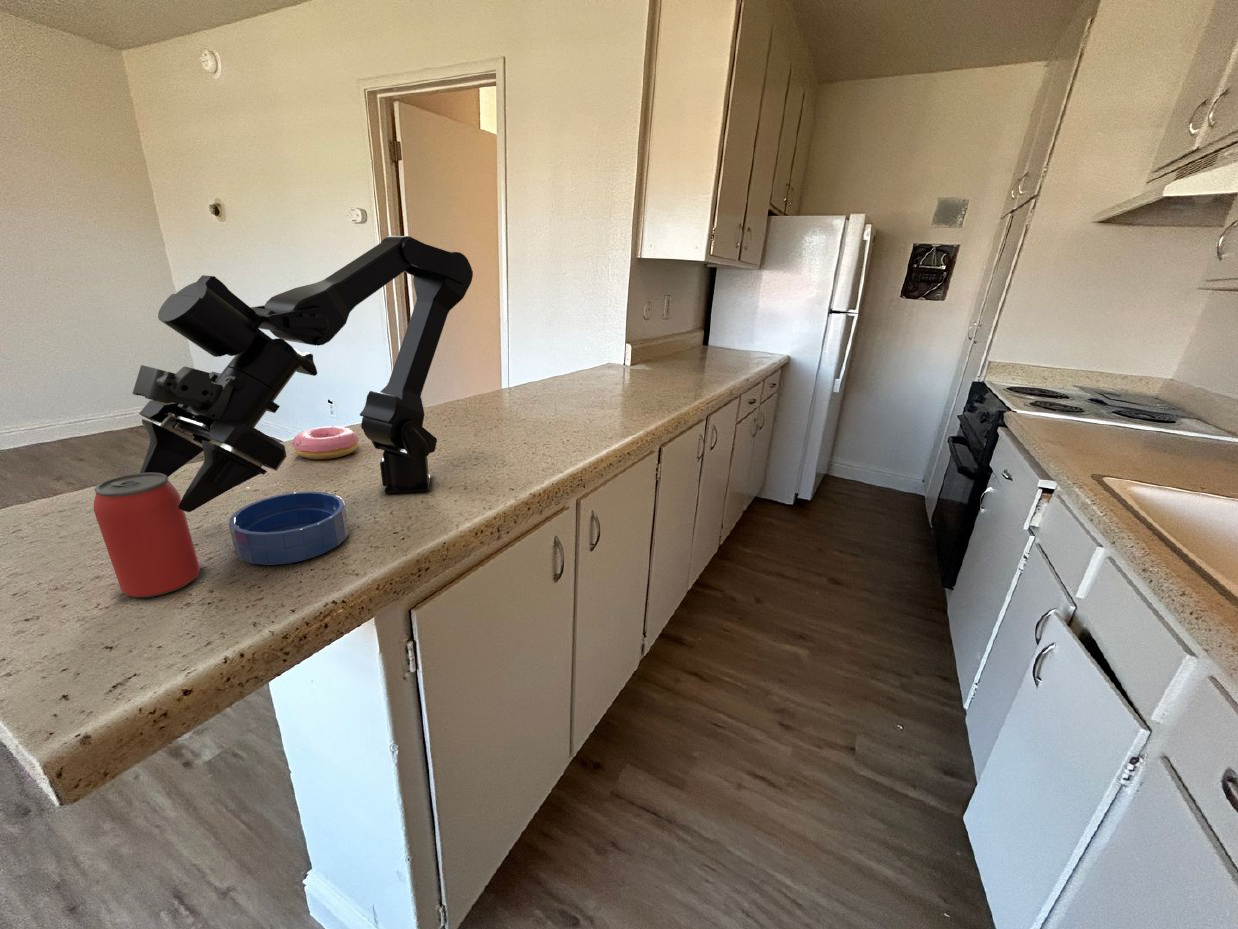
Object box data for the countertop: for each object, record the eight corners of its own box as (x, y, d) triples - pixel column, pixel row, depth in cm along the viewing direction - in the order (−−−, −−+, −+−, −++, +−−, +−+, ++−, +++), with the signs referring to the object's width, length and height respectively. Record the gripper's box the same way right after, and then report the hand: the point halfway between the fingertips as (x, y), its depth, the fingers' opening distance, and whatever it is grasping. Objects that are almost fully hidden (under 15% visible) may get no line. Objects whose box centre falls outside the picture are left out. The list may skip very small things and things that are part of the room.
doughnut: (352, 461, 93) (349, 439, 91) (284, 463, 90) (280, 440, 89) (365, 442, 103) (363, 422, 101) (305, 443, 100) (301, 423, 99)
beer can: (153, 566, 59) (123, 469, 54) (214, 566, 59) (189, 470, 55) (104, 601, 52) (66, 494, 48) (173, 600, 53) (141, 495, 49)
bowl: (356, 517, 72) (352, 488, 71) (337, 562, 61) (332, 529, 60) (257, 525, 69) (251, 494, 67) (219, 573, 58) (210, 538, 56)
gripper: (139, 327, 57) (31, 445, 51) (233, 345, 49) (117, 487, 43) (232, 386, 66) (149, 492, 61) (323, 409, 58) (236, 533, 53)
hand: (161, 499), depth 54 cm, fingers open, 9 cm apart
